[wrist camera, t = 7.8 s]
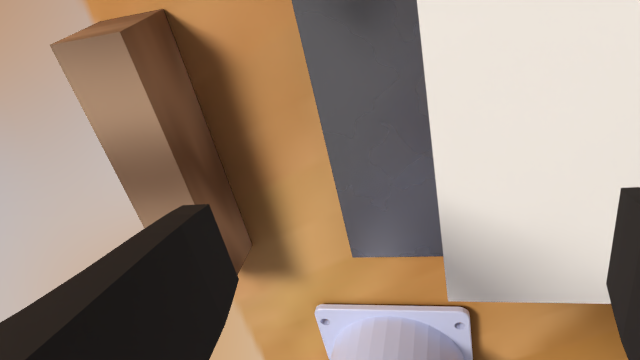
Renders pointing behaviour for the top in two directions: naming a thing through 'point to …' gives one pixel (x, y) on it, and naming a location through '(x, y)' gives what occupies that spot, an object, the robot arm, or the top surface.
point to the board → (531, 142)
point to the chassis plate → (374, 121)
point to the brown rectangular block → (150, 121)
